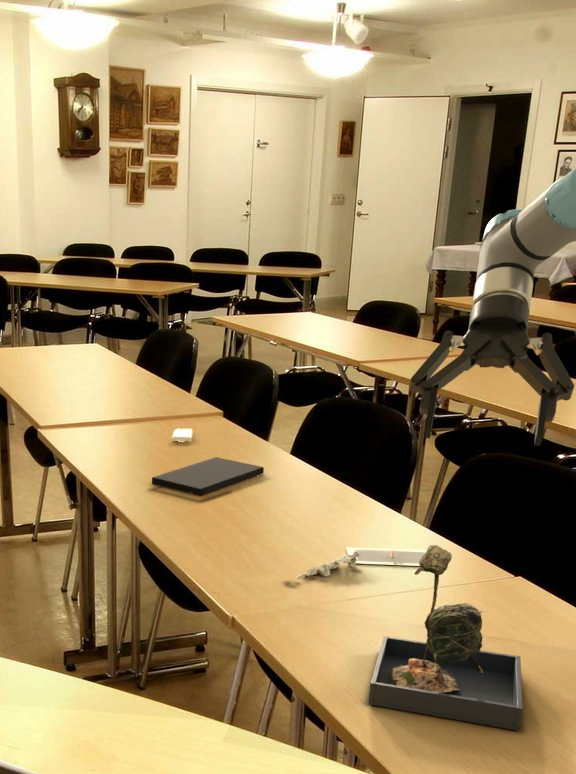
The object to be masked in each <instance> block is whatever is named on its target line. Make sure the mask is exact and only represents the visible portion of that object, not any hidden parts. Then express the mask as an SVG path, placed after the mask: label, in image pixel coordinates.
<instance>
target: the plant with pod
mask: <svg viewBox="0 0 576 774" xmlns="http://www.w3.org/2000/svg"><path fill="white" fill-rule="evenodd" d="M426 550H427V552H426V553H425V555H423V556H422V558H421V559H420V561H419V565H420V566H419V567H418V568H416V571H415V572H414V575H415V576H417V575H419V574H420V573H421V572H425V573H430V574H431V573H432V574H433V575H434V579H433V595H432V603H431V608H430V612H429V613H428V614H427V615H426V618H425V621H424V627H425V629H426V637H427V638H426V641H425V642H426V648H425V654H424V660H421V659H415V658H414V659H409V660H408V664H407V665H405V666H400V667H399V666H398V667H393V668H392V669H390V670H394V671H393V672H391V673H393V674H392V676H393V677H391V678H392V680H393V681H392V684H393V685H395V686H401V687H407V688H413V689H419V690H425V691H431V692H437V693H443V692H451V691H452V690H453V691H454V690H455V691H456V690H460V689H459V688H458V685H457V684H456V682H455V681H454V680H455V679H454V676H452V675H453V674H451V673H450V672H448V670H447V669H446V670H443V669H441V667H442V665H447V664H451V663H453V662H456V661H464V660H466V659H469V660H470V661H471V663H472V664H473V666H474V667H475V668H476V670H477V671H478V672H479V673H480V674H483V672H482V669H481V668H480V666H479V664H478V662H477V660H476V659H475V658H474V656H475V655H477V654H478V653H479V652H480V650H481V649H482V648H483V634H482V632H481V630H482V627H483V619H482V614H481V613H483V612H484V610H481V611H479V609H478V608H477V607H475V606H474V605H472V604H470V603H468V602H463V603H455V604H444V605H442V606H438V607H437V608H436V609H435V607H436V603H437V598H438V586H439V582H440V576H441V575H443V574H444V573H445V571H447V570H448V567H449V564H450V563H451V560H452V558H453V555H452V553H451V551H448V550H446V549H444V548H442V547H441V546H439V545H437V544H430V545H429V546H427V549H426ZM427 648H428V649H429V650H430V652H431V653H432V655H433V658H434V660H435V664H434V663H432V662H430V661H426V660H425V658H426V655H427V652H428V651H427Z"/></svg>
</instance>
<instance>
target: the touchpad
mask: <svg viewBox="0 0 576 774" xmlns="http://www.w3.org/2000/svg"><path fill="white" fill-rule="evenodd" d="M345 549H346V553H347V555H353V553H354V551H355V552H357V553H358V554H359V556H358V557H356V559H357V561H356V562H355V564H363V565H388V566H389V565H391V566H410V567H411V566H415V567H420V565H419V561H420V559H421V558H422V556H423V555H425V553H426V552H427V549H403V548H402V549H400V548H378V547H377V548H376V547H375V548H374V547H373V548H372V547H349V546H346V547H345Z"/></svg>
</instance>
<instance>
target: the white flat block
mask: <svg viewBox="0 0 576 774" xmlns="http://www.w3.org/2000/svg"><path fill="white" fill-rule="evenodd" d="M193 433H194V432H193V428H176V429H174V431H173V433H172V436H171V442H172V441H178V442H182V443H181V444H184V443H183V442H184V441H191V442H192V439H193ZM191 438H192V439H191Z"/></svg>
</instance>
